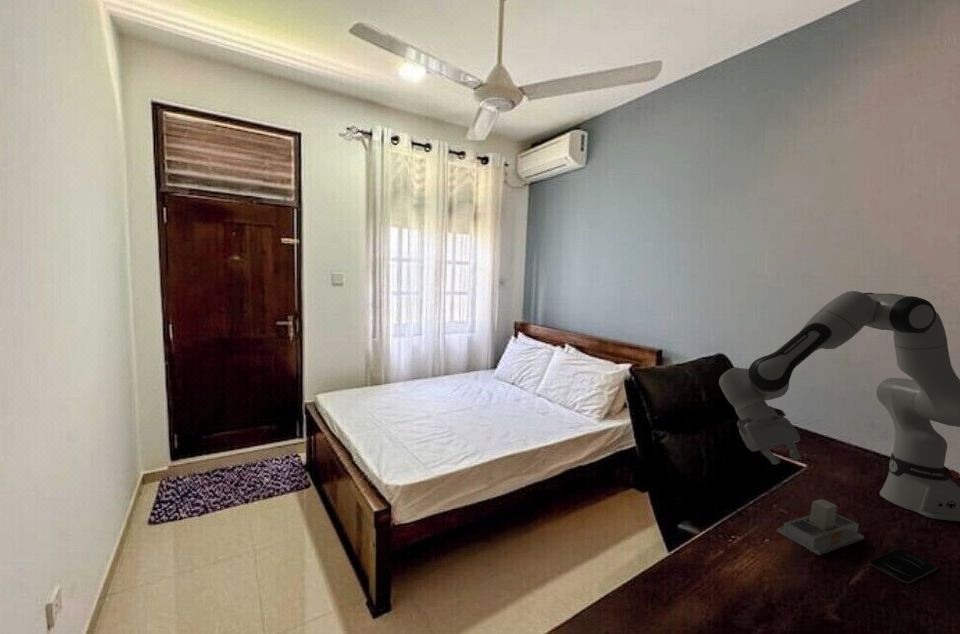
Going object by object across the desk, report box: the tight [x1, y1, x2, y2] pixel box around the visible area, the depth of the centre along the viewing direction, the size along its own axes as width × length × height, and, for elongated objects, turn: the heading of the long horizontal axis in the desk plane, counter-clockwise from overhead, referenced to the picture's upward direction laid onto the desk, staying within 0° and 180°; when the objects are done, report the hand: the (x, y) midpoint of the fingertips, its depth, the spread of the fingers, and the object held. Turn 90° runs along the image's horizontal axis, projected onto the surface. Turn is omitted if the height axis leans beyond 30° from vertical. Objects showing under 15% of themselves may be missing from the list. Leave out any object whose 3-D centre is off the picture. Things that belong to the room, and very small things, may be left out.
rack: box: [776, 513, 865, 556], centre depth 110 cm, size 20×10×4 cm, turn 113°
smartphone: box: [868, 548, 938, 585], centre depth 99 cm, size 8×1×15 cm
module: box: [809, 498, 838, 531], centre depth 110 cm, size 4×4×8 cm
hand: (787, 461), depth 118 cm, fingers open, 8 cm apart
